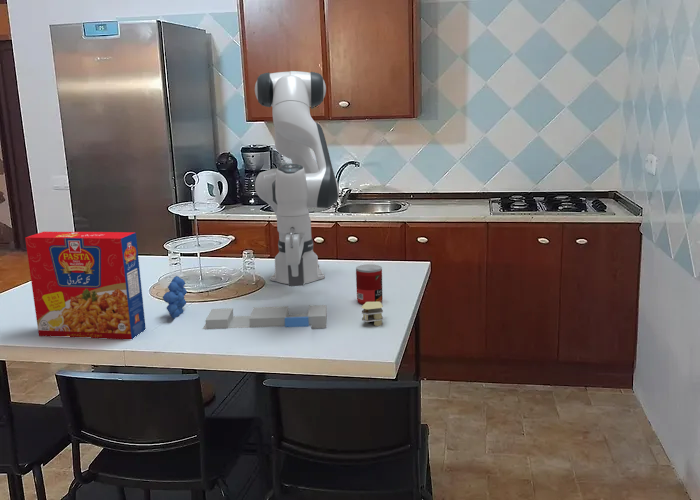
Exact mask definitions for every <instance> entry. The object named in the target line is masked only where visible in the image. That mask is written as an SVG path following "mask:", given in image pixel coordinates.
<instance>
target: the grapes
mask: <svg viewBox="0 0 700 500" xmlns="http://www.w3.org/2000/svg"><path fill="white" fill-rule="evenodd" d="M185 285H186V282H185V281H184V279H183V278H181V277H180V276H177V275H176V276H174V277H173V278H172V279H171V282H169V284H168V286H167V288H168V291H167V292H165V293H164V294H163V296H162V299H163V301H164V302H165V303H167V304H168V305H167V306H166V310H167V312H168V314H169V316H170V318H171V319H174V320H175V319H176V318H178V317H179V316H180V315H181V314H184V307H185V305H186V304H187V301H186V300H185V296H186V294H187V293H188V291H187V289H186V287H185Z"/></svg>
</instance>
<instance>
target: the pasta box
mask: <svg viewBox="0 0 700 500" xmlns="http://www.w3.org/2000/svg"><path fill="white" fill-rule="evenodd" d="M24 238H25V245H26V254H27V260H28V268H29V276H30V281H31V289H32V296H33V302H34V308H35V309H34V311H35V318H36V324H37V331H38V336H39V337H51V336H70V337H69V338H75V337H91V338H90V339H99V338H107V339H106V340H123V339H132V340H133V338H134V337H135V336H136V337H138V336H139V335H140V333H141V332H142V333H143V332H145V331H146V330H147V328H146V319H145V309H144V308H145V307H144V299H143V289H142V288H143V287H142V281H141V271H140V269H141V268H140V262H139V261H140V260H139V252H138V242H137V241H138V239H137V233H136V232H129V231H127V232H123V231H120V232H119V231H115V232H114V231H41V232H38V233H35V234H32V235H29V236H27V237H24ZM145 329H146V330H145ZM144 330H145V331H144ZM142 333H141V334H142ZM138 334H139V335H138ZM137 335H138V336H137ZM136 337H135V338H136ZM135 338H134V339H135Z"/></svg>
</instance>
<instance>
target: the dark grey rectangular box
mask: <svg viewBox="0 0 700 500" xmlns="http://www.w3.org/2000/svg"><path fill="white" fill-rule="evenodd" d="M298 271H299V275H298V276H297V277H293V276H292V270H291V265H288V279H289V284H288V287H304V285H305V283H304V270H303V258H301V260H300V264H299V265H298Z"/></svg>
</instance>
